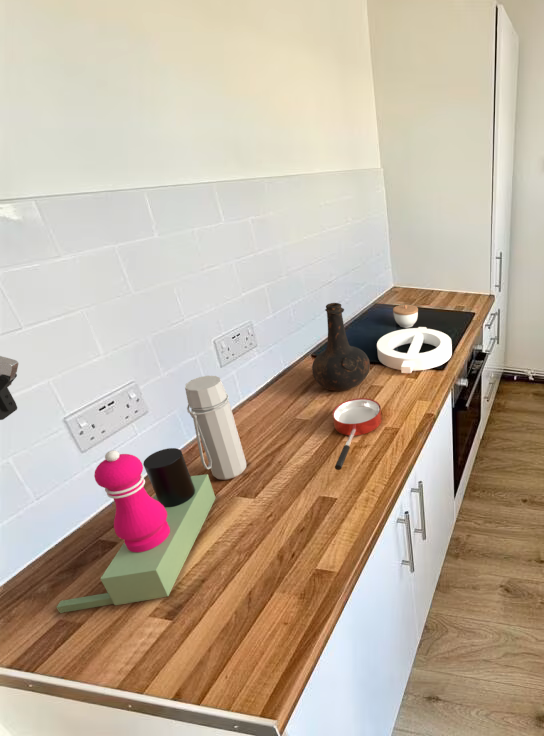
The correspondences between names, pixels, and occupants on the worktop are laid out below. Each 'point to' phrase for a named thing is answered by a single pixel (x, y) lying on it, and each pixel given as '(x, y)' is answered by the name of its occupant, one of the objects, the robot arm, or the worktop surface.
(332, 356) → the glass bottle
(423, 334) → the white circle with bar
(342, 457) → the frying pan
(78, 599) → the riser
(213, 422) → the water bottle
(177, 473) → the spice tin
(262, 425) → the worktop surface
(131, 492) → the pepper mill
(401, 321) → the trinket box
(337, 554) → the worktop surface
